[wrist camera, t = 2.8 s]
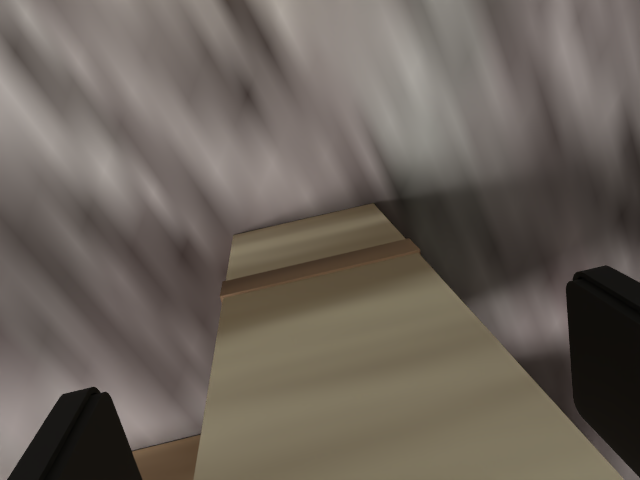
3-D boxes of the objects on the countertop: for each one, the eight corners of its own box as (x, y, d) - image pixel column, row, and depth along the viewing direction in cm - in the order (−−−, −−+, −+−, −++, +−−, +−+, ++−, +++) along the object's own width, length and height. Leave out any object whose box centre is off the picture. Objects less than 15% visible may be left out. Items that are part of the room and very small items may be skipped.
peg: (231, 233, 15) (133, 784, 3) (374, 201, 15) (760, 613, 3) (265, 361, 16) (282, 1079, 4) (397, 329, 16) (734, 942, 5)
